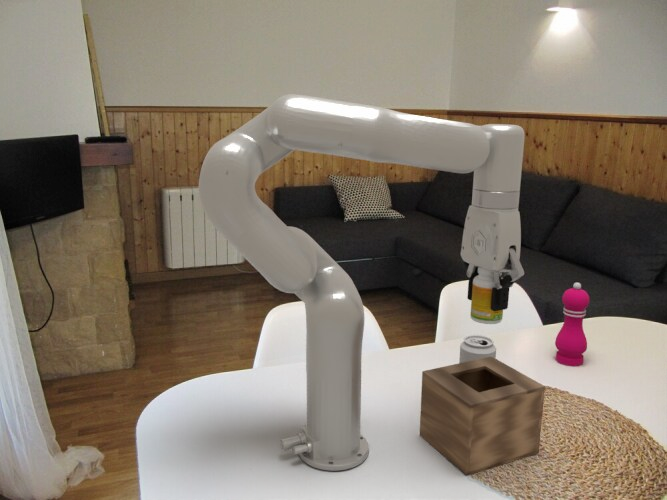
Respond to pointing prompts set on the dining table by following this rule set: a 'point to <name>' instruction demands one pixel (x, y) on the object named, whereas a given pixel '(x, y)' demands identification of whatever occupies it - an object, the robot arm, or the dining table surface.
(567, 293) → the pepper mill
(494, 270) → the robot arm
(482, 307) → the supplement bottle
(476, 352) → the can
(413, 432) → the dining table surface
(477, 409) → the drop box
